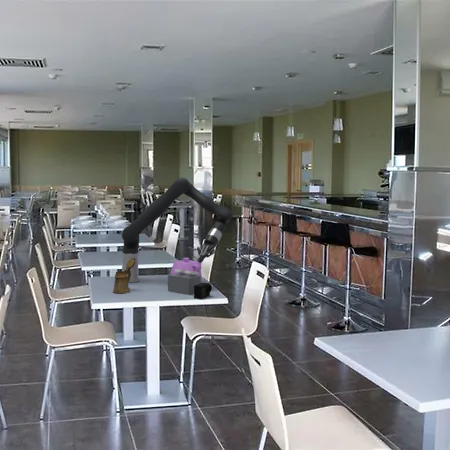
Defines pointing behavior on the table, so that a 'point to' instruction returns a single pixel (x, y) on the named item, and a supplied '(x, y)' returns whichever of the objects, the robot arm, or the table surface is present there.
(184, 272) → the back rocker
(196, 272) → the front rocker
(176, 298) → the table surface
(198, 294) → the digital camera
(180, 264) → the teapot
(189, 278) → the switch box
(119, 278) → the wooden mug
